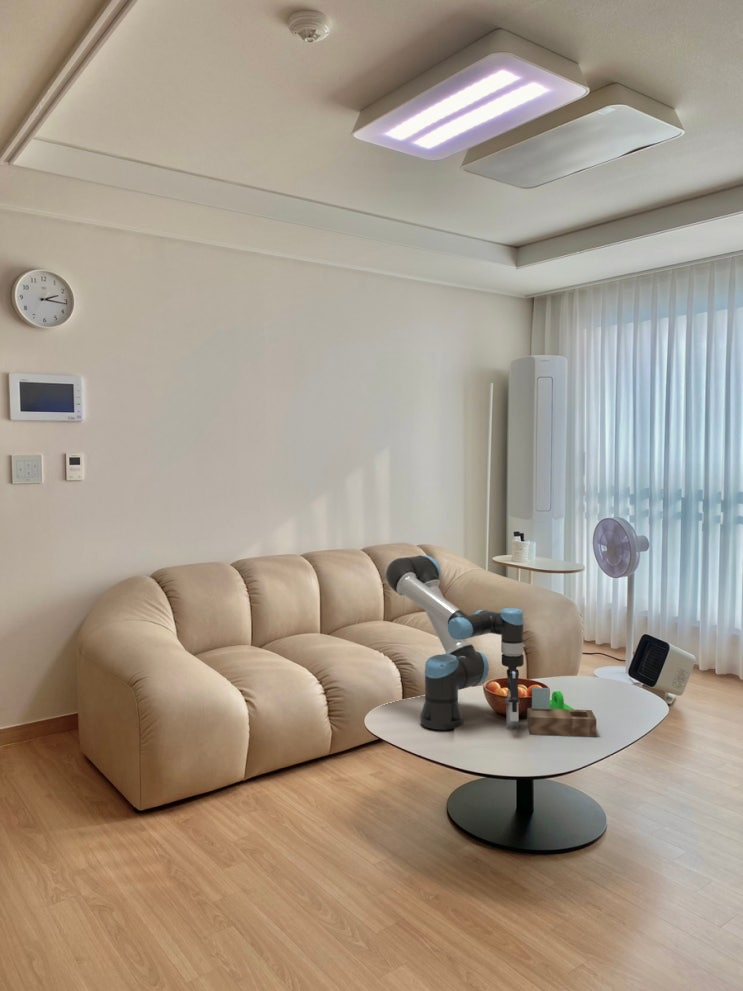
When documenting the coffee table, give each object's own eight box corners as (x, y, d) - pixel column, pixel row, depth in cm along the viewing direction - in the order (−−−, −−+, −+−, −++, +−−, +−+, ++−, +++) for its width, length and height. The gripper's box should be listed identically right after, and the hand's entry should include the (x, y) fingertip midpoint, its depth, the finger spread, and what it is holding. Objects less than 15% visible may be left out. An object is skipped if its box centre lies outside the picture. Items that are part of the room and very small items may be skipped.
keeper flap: (531, 709, 275) (531, 687, 275) (531, 709, 276) (531, 687, 276) (550, 710, 274) (550, 688, 274) (550, 710, 275) (550, 688, 275)
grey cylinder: (505, 730, 272) (505, 701, 271) (504, 725, 277) (504, 696, 276) (519, 730, 271) (520, 701, 271) (518, 725, 276) (518, 697, 276)
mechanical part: (573, 714, 290) (573, 692, 289) (558, 715, 288) (558, 693, 288) (558, 704, 301) (558, 683, 301) (543, 705, 300) (543, 684, 300)
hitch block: (529, 734, 268) (529, 717, 267) (527, 724, 277) (527, 708, 277) (596, 737, 265) (596, 719, 265) (591, 727, 275) (591, 710, 275)
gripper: (526, 662, 260) (526, 726, 261) (521, 645, 285) (521, 704, 286) (503, 662, 261) (503, 725, 262) (499, 645, 286) (500, 703, 286)
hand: (513, 714), depth 274 cm, fingers open, 13 cm apart
